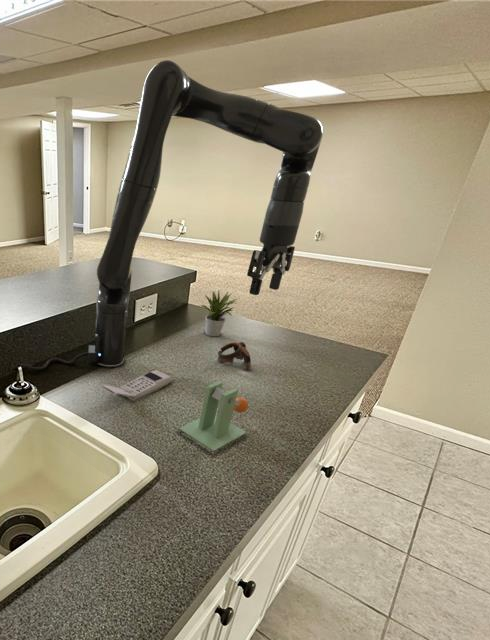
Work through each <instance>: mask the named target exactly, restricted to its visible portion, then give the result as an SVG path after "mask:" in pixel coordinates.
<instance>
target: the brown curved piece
mask: <svg viewBox="0 0 490 640" xmlns="http://www.w3.org/2000/svg"><path fill="white" fill-rule="evenodd" d="M229 349H233V350H234V351H233V352H231V353H228V354H223V353H224V352H225V351H227V350H229ZM217 355H218V357H217V361H218V362H219V363H222V364H223V363H225V364H226V363H230V364H231V365H234V359H236V360H240V361H242V360H243V364H245V365H246V367H247V368H246V370H247V371H250V370H251V369H252V359H251V355H250V352H249V351H248V349H247V345H246V344H245V342H243V341H239V342H237V341H236V342H235V341H234V342H229V343H227V344H224V345H223V346H221V347H220V350H219V351H217Z"/></svg>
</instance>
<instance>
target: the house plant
mask: <svg viewBox="0 0 490 640" xmlns="http://www.w3.org/2000/svg"><path fill="white" fill-rule="evenodd" d="M204 296H205V297H206V300H207V301H208V303H209V307H208V306H207V305H205V304H201V305H200V307H202V308H205V309H206V310H208V311H209V313H208V314H207V315H205V328H204V329H205V330H204V332H205V335H207V336H209V337H219V336H220V335H221V333H222V329H223V328H224V325H225V322H226V320H227V319H226V318H225V315H227V314H229V315H230V316H231V317H233V314H232V312H234V310H233V309H234V307H229V305H232V304H233V305H234V303H236V301H238V298H235V299H232V300H229V298H230V297H231V296H232V293H230V294H229V291H227V292H226V293H225V294H224V295H223V297H220V290H219V289H218V290H217V295H216V293H215V291H214V290H212V295H211V296H212V298H211V297H209V296H207V295H206V294H204Z"/></svg>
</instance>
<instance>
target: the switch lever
mask: <svg viewBox="0 0 490 640" xmlns="http://www.w3.org/2000/svg"><path fill="white" fill-rule="evenodd" d="M225 392H227V391H226V390H224V389H220V388H218V387H216V389H215V391H214V393H213V394H212V397H214V398H216V399H217V400H219V401H220V400H221V396H222V394H223V393H225ZM248 408H249V401H248V400H247V399H246V398H245V397H236V401H235V405H234V409H233V411H235V412H236V413H245V412H246V411H248Z"/></svg>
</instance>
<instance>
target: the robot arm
mask: <svg viewBox="0 0 490 640" xmlns="http://www.w3.org/2000/svg"><path fill="white" fill-rule="evenodd" d="M172 117H177V118H183V119H190V120H195V121H199V122H202V123H205V124H207V125H210V126H214V127H216V128H217V129H220V130H222V131H225V132H227V133H230V134H232V135H234V136H237V137H240V138H243V139H245V140H247V141H251V142H254V143H257V144H260V145H261V144H262V145H267V146H268V147H271V148H273V149H275V150H278V151H281V152H282V156H281V161H280V166H279V170H278V172H277V174H276V176H275V179H274V181H273V186H272V190H271V194H270V199H269V202H268V205H267V208H266V211H265V216H264V219H263V224H262V227H261V232H260V236H259V242H260V243H261V244H262V245H263V246H262V248H261V250H258V249H254V250H253V251H252V254H251V258H250V262H249V265H248V269H247V273H246V276H247V277H249V278H251V283H250V287H249V294H250V295H253V296H258V295H260V292H261V287H262V283H263V279H264V277H265V275H266V274H267V273H270V271H271V270H272V275H271V278H270V283H269V286H268V288H269V290H270V289H271V290H273V291H277V290H279V289H280V285H281V282H282V278H283V275H285V274H286V272H289V271H290V268H291V265H292V261H293V257H294V252H295V249H296V247H295V246H293V245H294V244H295V242H296V238H297V236H298V235H297V234H298V231H299V228H300V224H301V219H302V216H303V213H304V207H305V206H304V205H305V201H306V197H307V195H308V190H309V186H310V183H311V182H310V181H311V174H312V170H313V168H314V165H315V162H316V158H317V155H318V153H319V149H320V146H321V142H322V139H323V136H324V135H323V134H324V133H323V129H324V128H323V126H322V125H323V124H322V123H321V122H320V120H318V118H316V117H314V116H311V115H309V114H304V113H300V112H297V111H293V110H289V109H283V108H280V107H278V106H276V105H275V104H272V103H269V102H266V101H264V100H260V99H257V98H254V97H251V96H246V95H243V94H242V95H241V94H236V93H229V92H225V91H220V90H216V89H214V88H211V87H208V86H207V85H204V84H201V83H200V82H198V81H197V80H195V79H193V78H192V77H190V76H189V75H188V74H187V73H186V71H185V70H184V69H183V68H182V67H181V66H180V65H179V64H177V63H176V62H174V61H172V60H170V59H169V60H168V59H166V60H161V61H159V62H157V63H156V64H155V65H154V66H153V67H152V68H151V69H150V70H149V72H148V74H147V76H146V78H145V81H144V84H143V88H142V94H141V99H140V104H139V110H138V116H137V121H136V127H135V131H134V134H133V138H132V141H131V144H130V148H129V151H128V155H127V159H126V163H125V166H124V169H123V174H122V176H121V181H120V184H119V187H118V191H117V196H116V200H115V204H114V207H113V208H114V209H113V214H112V219H111V225H110V230H109V235H108V237H107V241H106V244H105V248H104V250H103V252H102V255H101V258H100V260H99V262H98V264H97V267H96V277H97V281H98V293H97V297H96V312H95V328H94V341H93V342H94V343H93V345H92V344H91V345H90V344H89V345H88V348H87V349H88V350H87V351H85V352H82V353H79V354H78V355H76V356H74V358H73V359H72V360H69V361H68V360H64V359H62V358H59V357H53V358H50V359H48V360H47V361H46V362H45V364H43V366H39V367H37V366H32V365H29V364H26V363H19V364H20V366H22V367H21V368H25V369H29V370H33V371H42V370H45V369H47V367H48V366H49V364H50V363H52V362H59V363H62V364H65V365H73V364H74V363H75V362H76V361H77V360H78V359H79V358H82V357H85V356H87V358H88V359H87V360H88V362H93V364H94V365H95V366H99V367H103V368H118V367H120V366H122V365H123V363H124V361H125V360H124V359H125V349H126V348H125V346H126V345H125V344H126V333H127V323H128V312H129V311H128V309H129V302H130V297H131V296H130V294H131V285H132V275H133V263H132V261H133V256H134V252H135V248H136V245H137V241H138V238H139V236H140V235H141V232H142V230H143V228H144V225H145V223H146V221H147V219H148V216H149V214H150V211H151V208H152V206H153V203H154V200H155V197H156V194H157V190H158V187H159V184H160V180H161V179H160V178H161V172H162V162H163V151H164V142H165V138H166V134H167V131H168V129H169V127H170V126H169V125H170V122H171V120H172ZM17 367H18V366H16V367H14V366H13V367H12V368H11V370H16V369H18V368H19V367H18V368H17Z"/></svg>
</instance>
